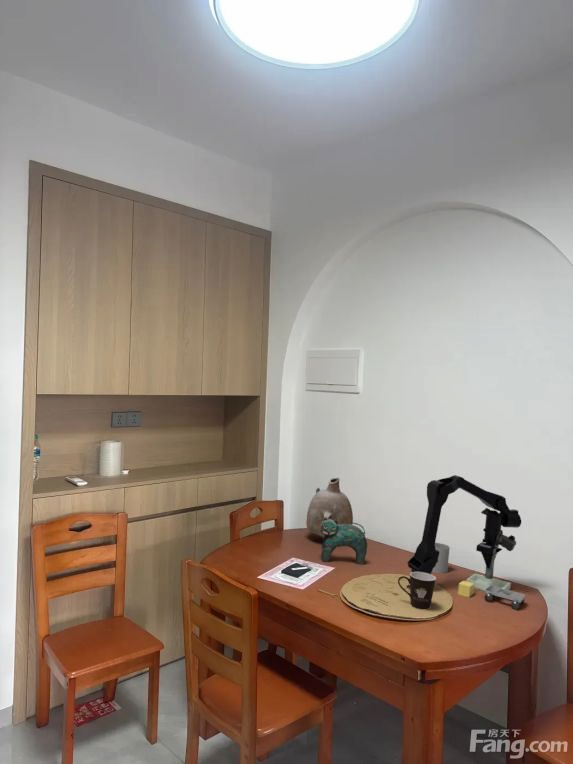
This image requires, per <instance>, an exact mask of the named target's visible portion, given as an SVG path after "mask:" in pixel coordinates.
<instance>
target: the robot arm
mask: <svg viewBox="0 0 573 764" xmlns="http://www.w3.org/2000/svg"><path fill="white" fill-rule="evenodd" d="M426 485H427V486H426V497H427V498H426V499H427V502H428V503H427V504H428V505H427V511H426V517H425V520H424V521H425V522H424V526H423V527H424V528H423V533H422V538H421V542H419V544H418V545H417V547H416V548H415V549H416V550H415V551H414V555H413V556H412V557H411V558H410V559H409V560H408V561H407V562H406V563H407V567H408V568H410V569H411V571H410V573H411V572H424V573H428V574H431V575H432V570H433V568H434V567H435V566H436V562H437V563H438V556H439V551H438V550H436V549H435V543H436V541H437V535H438V529H439V524H440V518H441V514H442V509H443V506H444V505H445V504H446V502H447V500H448V498H449V495H451V494H454V493H455V492H456V491H458V489H460V490H462V491H464V492H466V493H468V494H469V495H472V496H473V497H476V498H477V499H479V501H480V502H481V503H483V504H484V506H486V507H485V508H484V509H482V511H481V512H480V513H481V514H482V515H485V523H484V525H485V526H484V528H483V529H482V530H483V532H484V535H483V536H484V538H482V542H479V543H478V544H476V548H475V549H476V551H477V552H480V553H481V555H482V558H483V560H484V563H485V568H486V567H487V568H489V569H490V567H491V563H492V559H493V556H494V555H495V554H496V556H495V559H494V561H496V557H497V555H498V553H499V552H501V551H502V550H503V548H504V549H506V550H507V551H509V552H512V551H513V550H514V548H515V546H516V545H517V541H516V537H515V536H514V535H513V534H511V535H510V536H507V535H505V534H504V532H503V530H502V527H503V528H516V529H517V528H519V527H521V525H522V517H521V515H520V514H519V510H517V509H515V508H514V509H510V508H509V506H508V504H507V501H506V497H504V496H503V495H500V494H497V493H494V492H490V491H487V490H485V489H483V488H482V487H480V486H478V485H476V484H474V483H472V482H471V481H469V480H467V479H465V478H464V477H462V476H459V475H456V474H455V475H452V476H449V477H445V478H440V479H437V480H436V479H433V480H430V482H428V483H427V484H426ZM499 546H501V547H502V548H501V547H499ZM408 587H410V585H409V584H407V585H406V588H408Z"/></svg>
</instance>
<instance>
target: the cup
mask: <svg viewBox="0 0 573 764" xmlns="http://www.w3.org/2000/svg"><path fill="white" fill-rule="evenodd" d="M435 549H436V550H438V551H439V556H438V563H437V562H436V566H435V567H434V568H433V570H432V572H433V573H437V574H447V573H448V569H449V558H450V546H449V545H447V544H444V543H440V542H435ZM432 572H431V573H432Z"/></svg>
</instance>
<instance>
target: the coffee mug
mask: <svg viewBox="0 0 573 764" xmlns="http://www.w3.org/2000/svg"><path fill="white" fill-rule="evenodd" d="M402 579H406V580H407V581H408V585H409V584H410V588H409V589H410V591H407V590H406V589H405V588H404V587H403V586H402V585H401V583H400V581H401V580H402ZM436 581H437V577H436V576H435V575H433V574H432V573H431V574H428V573H424V572H411V571H410V573H409V577H407V576H406V575H404V576H403V575H402V576H400V577H399V578H398V580H397V584H398V586H399V587H400V589H401V590H402V591H404V592H405V593H406V594H407V595H408V596H409V598H410V605H412V606H411V607H412V608H414V607H415V609H417V608H418V610H422V609H427V610H429V609H428V608H430V609H431V605H432V600H433V595H434V589H435V584H436Z"/></svg>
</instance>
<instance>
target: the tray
mask: <svg viewBox="0 0 573 764" xmlns="http://www.w3.org/2000/svg"><path fill="white" fill-rule="evenodd" d="M465 581H467V582H471V583H474V590H475V589H476V590H479V591H482V592H485V590H486V589H487V588H488V587H489V586H491V585H492V586H496V587H499V588H503V589H506V590H509V589H510V590H511V584H512V583H511V582H509V581H506V580H505V581H504V580H503V579H502V580H501V579H497V578H494V577H493V579H487V578H485V575H482V574H479V573H474V574H472V575H471V576H469V577H468V578H466V580H465ZM500 593H503V592H500ZM503 594H506V593H503Z"/></svg>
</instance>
